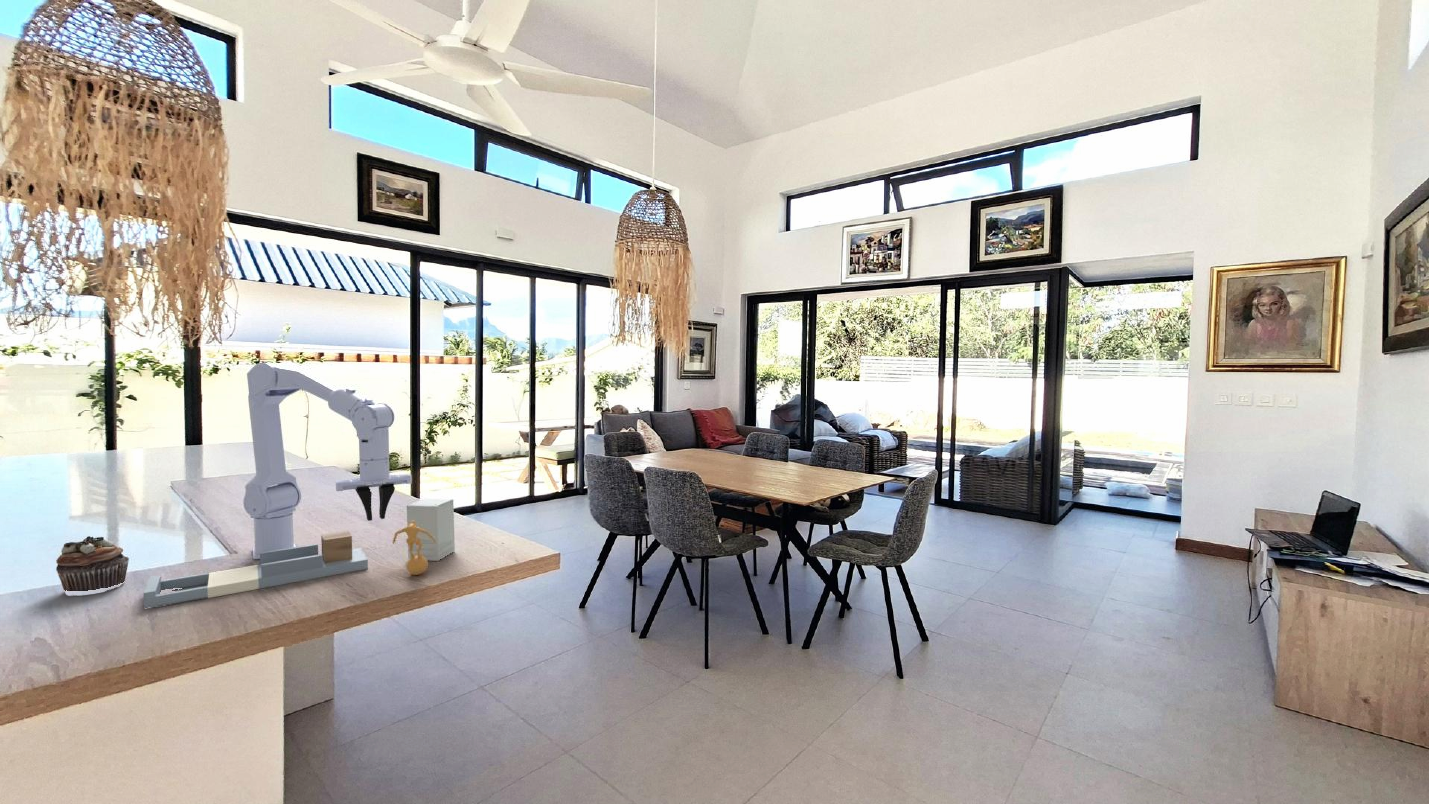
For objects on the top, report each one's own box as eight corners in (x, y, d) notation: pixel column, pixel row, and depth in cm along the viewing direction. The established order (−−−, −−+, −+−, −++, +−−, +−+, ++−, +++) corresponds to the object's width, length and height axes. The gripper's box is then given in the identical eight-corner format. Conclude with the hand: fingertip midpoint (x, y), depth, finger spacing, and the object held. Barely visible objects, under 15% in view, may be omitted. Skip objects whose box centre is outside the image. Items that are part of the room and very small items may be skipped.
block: (321, 557, 126) (321, 534, 126) (348, 552, 129) (348, 530, 129) (324, 563, 122) (323, 540, 122) (352, 558, 125) (351, 536, 125)
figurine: (441, 570, 125) (440, 515, 124) (431, 580, 119) (430, 522, 118) (400, 571, 123) (399, 516, 123) (388, 582, 117) (387, 523, 117)
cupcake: (103, 596, 109) (101, 544, 108) (41, 599, 107) (38, 546, 106) (143, 578, 118) (141, 529, 117) (87, 581, 116) (84, 531, 116)
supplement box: (455, 551, 137) (455, 498, 137) (437, 561, 130) (436, 506, 129) (426, 550, 138) (425, 497, 137) (406, 560, 131) (405, 504, 130)
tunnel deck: (150, 592, 111) (149, 569, 111) (360, 556, 133) (359, 537, 132) (144, 609, 103) (143, 584, 103) (367, 568, 125) (367, 548, 125)
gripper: (338, 464, 121) (340, 528, 122) (414, 457, 131) (415, 517, 131) (333, 459, 127) (335, 521, 128) (407, 454, 136) (408, 511, 137)
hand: (375, 518), depth 130 cm, fingers closed
